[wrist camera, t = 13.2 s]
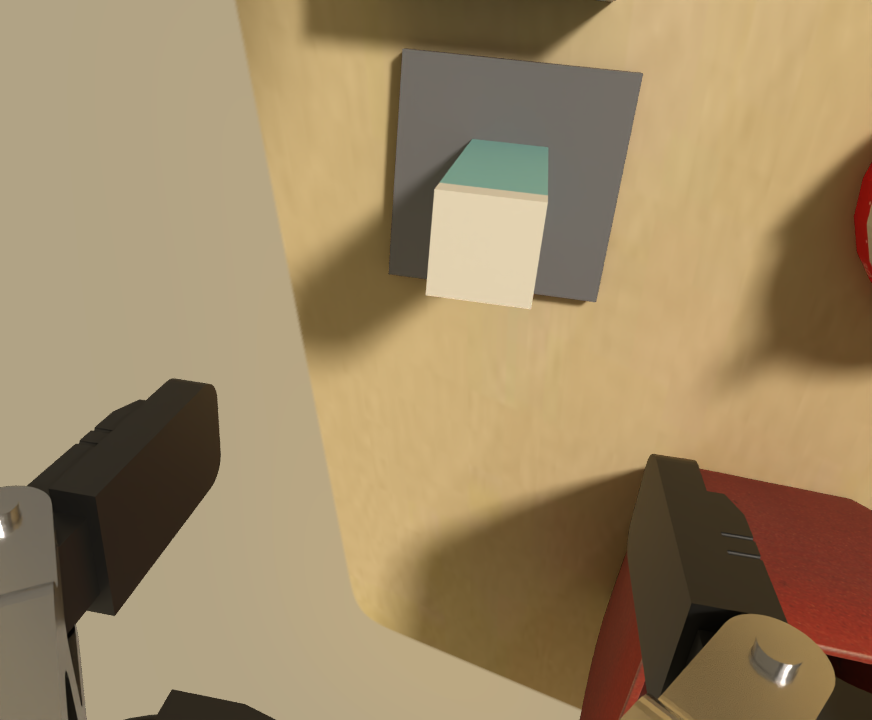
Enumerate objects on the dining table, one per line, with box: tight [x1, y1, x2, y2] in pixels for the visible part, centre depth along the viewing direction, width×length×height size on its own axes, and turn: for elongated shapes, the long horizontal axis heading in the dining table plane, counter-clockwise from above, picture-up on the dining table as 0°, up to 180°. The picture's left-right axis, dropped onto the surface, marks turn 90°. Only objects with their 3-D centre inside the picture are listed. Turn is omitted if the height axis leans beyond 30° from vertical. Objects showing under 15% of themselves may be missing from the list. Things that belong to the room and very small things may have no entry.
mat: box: [389, 49, 643, 302], centre depth 37 cm, size 12×12×1 cm
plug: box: [426, 139, 548, 309], centre depth 31 cm, size 4×4×13 cm
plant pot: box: [580, 469, 872, 720], centre depth 38 cm, size 19×19×17 cm
